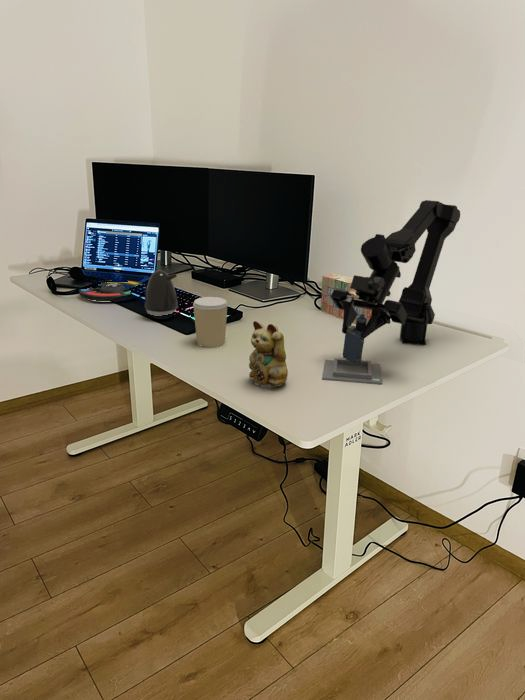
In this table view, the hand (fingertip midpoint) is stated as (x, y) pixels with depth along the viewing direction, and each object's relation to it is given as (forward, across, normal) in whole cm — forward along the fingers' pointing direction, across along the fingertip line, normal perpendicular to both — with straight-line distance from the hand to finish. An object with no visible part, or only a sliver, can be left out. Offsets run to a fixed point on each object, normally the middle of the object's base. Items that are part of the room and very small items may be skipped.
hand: (352, 335), depth 129 cm
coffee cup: (+13, -40, +1) cm, 42 cm away
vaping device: (+4, 0, +6) cm, 7 cm away
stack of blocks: (-20, -26, +35) cm, 48 cm away
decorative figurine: (+19, -11, -5) cm, 23 cm away
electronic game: (+7, -101, +8) cm, 102 cm away
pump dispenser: (+10, -68, +5) cm, 68 cm away
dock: (+6, 0, +8) cm, 10 cm away
